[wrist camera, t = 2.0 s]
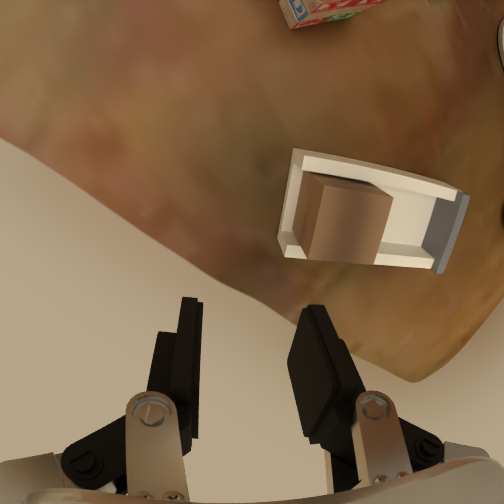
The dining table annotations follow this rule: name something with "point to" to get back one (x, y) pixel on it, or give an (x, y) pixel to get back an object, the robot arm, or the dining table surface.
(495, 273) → the dining table surface
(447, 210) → the chute
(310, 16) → the stack of blocks
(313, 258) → the walnut block
